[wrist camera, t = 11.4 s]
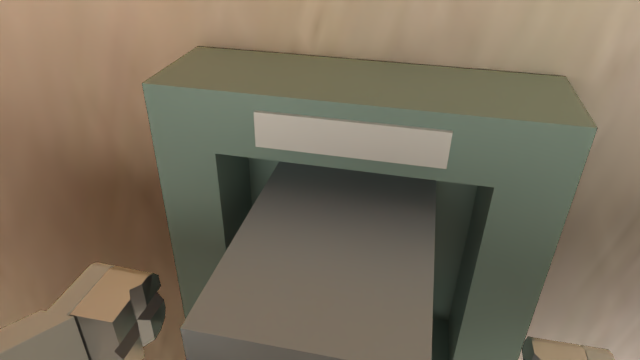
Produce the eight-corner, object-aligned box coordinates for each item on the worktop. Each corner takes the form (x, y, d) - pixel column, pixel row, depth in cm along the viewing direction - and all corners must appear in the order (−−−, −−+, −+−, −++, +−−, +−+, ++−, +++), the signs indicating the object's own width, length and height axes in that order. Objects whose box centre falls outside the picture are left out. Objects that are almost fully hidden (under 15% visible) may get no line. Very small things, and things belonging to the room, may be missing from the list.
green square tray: (488, 343, 16) (496, 426, 13) (226, 297, 17) (191, 364, 15) (565, 76, 11) (598, 130, 9) (197, 46, 13) (139, 84, 10)
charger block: (417, 290, 14) (402, 522, 9) (286, 269, 15) (202, 473, 10) (436, 173, 12) (430, 387, 7) (282, 155, 13) (174, 337, 8)
